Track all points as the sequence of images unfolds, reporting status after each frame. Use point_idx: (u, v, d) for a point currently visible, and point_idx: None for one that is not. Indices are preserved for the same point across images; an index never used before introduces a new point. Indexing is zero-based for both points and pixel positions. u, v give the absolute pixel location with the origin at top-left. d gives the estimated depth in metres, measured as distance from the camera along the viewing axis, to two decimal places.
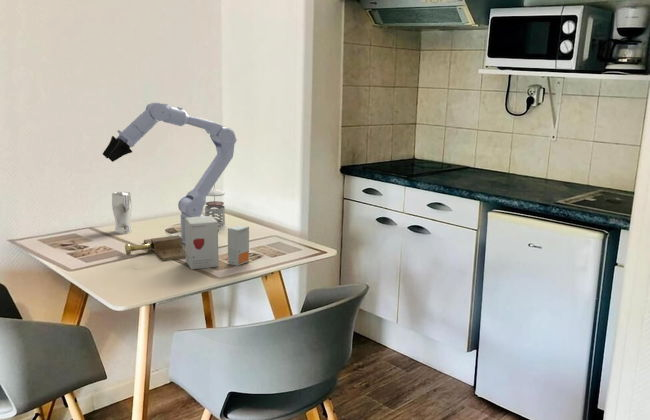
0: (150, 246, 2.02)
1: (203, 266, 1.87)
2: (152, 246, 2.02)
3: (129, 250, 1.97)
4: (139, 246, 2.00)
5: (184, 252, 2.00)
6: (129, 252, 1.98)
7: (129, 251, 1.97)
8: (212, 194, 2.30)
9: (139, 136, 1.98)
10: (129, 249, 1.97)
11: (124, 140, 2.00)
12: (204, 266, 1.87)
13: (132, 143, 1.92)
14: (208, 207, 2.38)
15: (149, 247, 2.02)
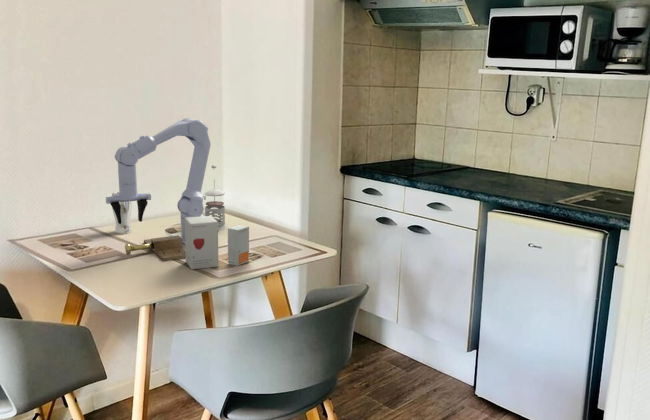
0: (150, 246, 2.02)
1: (203, 266, 1.87)
2: (152, 246, 2.02)
3: (129, 250, 1.97)
4: (139, 246, 2.00)
5: (184, 252, 2.00)
6: (129, 252, 1.98)
7: (129, 251, 1.97)
8: (212, 194, 2.30)
9: None
10: (129, 249, 1.97)
11: None
12: (204, 266, 1.87)
13: None
14: (208, 207, 2.38)
15: (149, 247, 2.02)
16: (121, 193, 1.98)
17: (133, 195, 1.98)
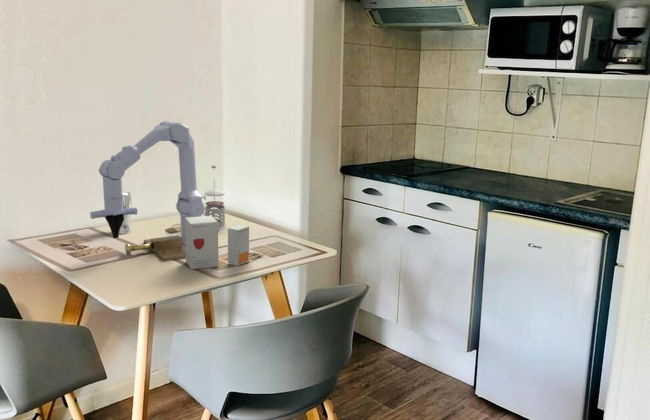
0: (150, 246, 2.02)
1: (203, 266, 1.87)
2: (152, 246, 2.02)
3: (129, 250, 1.97)
4: (139, 246, 2.00)
5: (184, 252, 2.00)
6: (129, 252, 1.98)
7: (129, 251, 1.97)
8: (212, 194, 2.30)
9: None
10: (129, 249, 1.97)
11: None
12: (204, 266, 1.87)
13: None
14: (208, 207, 2.38)
15: (149, 247, 2.02)
16: (106, 208, 1.91)
17: (118, 210, 1.92)
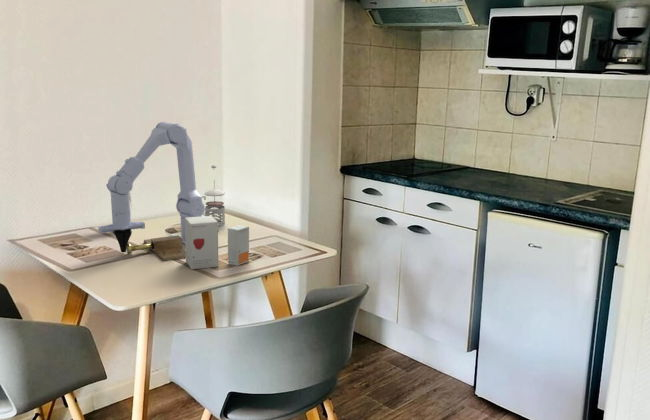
0: (151, 246, 2.02)
1: (203, 266, 1.87)
2: (153, 246, 2.02)
3: (130, 250, 1.97)
4: (140, 246, 2.00)
5: (184, 252, 2.00)
6: (130, 252, 1.98)
7: (130, 251, 1.98)
8: (212, 194, 2.30)
9: None
10: (130, 249, 1.97)
11: None
12: (204, 266, 1.87)
13: None
14: (208, 207, 2.38)
15: (150, 247, 2.02)
16: (114, 222, 1.93)
17: (126, 224, 1.94)
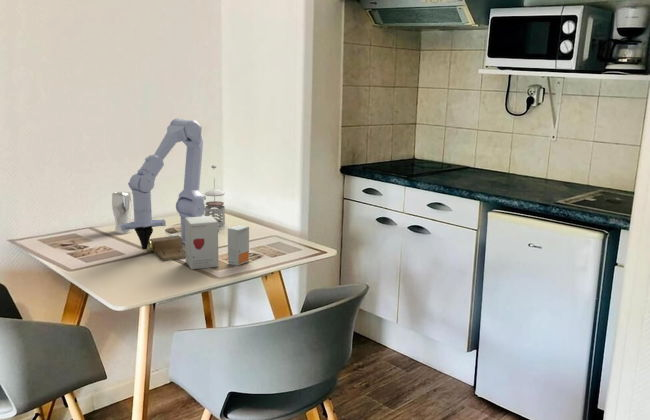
0: None
1: (203, 266, 1.87)
2: None
3: (151, 247, 2.01)
4: None
5: (184, 252, 2.00)
6: (151, 249, 2.01)
7: (151, 248, 2.01)
8: (212, 194, 2.30)
9: None
10: (151, 246, 2.01)
11: None
12: (204, 266, 1.87)
13: None
14: (208, 207, 2.38)
15: None
16: (136, 220, 1.97)
17: (148, 222, 1.98)
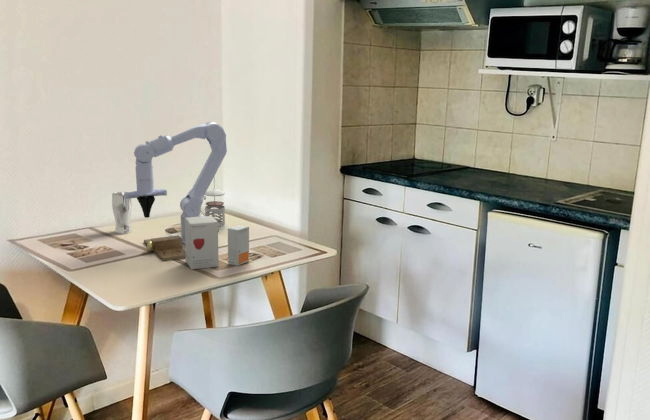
0: None
1: (203, 266, 1.87)
2: None
3: (151, 247, 2.01)
4: None
5: (184, 252, 2.00)
6: (151, 249, 2.01)
7: (151, 248, 2.01)
8: (212, 194, 2.30)
9: None
10: (151, 246, 2.01)
11: None
12: (204, 266, 1.87)
13: None
14: (208, 207, 2.38)
15: None
16: (138, 189, 2.05)
17: (150, 191, 2.06)
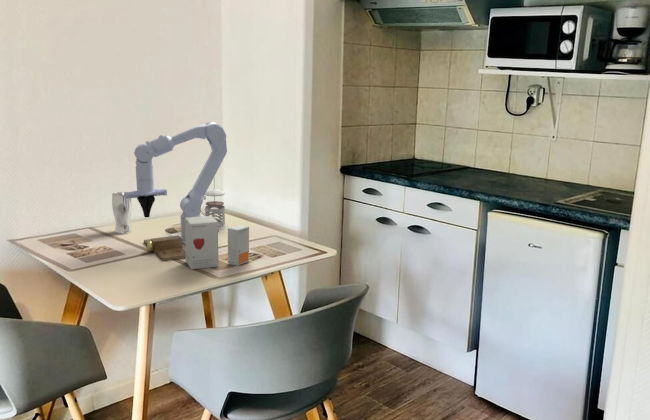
0: None
1: (203, 266, 1.87)
2: None
3: (151, 247, 2.01)
4: None
5: (184, 252, 2.00)
6: (151, 249, 2.01)
7: (151, 248, 2.01)
8: (212, 194, 2.30)
9: None
10: (151, 246, 2.01)
11: None
12: (204, 266, 1.87)
13: None
14: (208, 207, 2.38)
15: None
16: (138, 189, 2.05)
17: (150, 191, 2.06)
